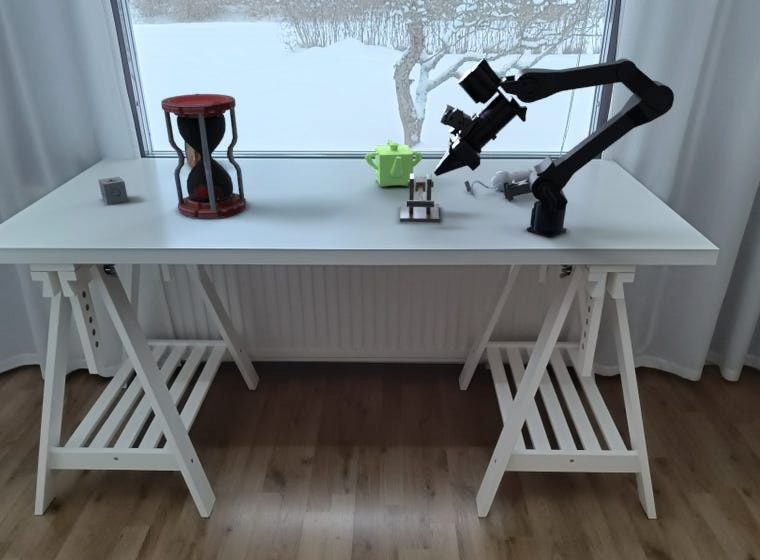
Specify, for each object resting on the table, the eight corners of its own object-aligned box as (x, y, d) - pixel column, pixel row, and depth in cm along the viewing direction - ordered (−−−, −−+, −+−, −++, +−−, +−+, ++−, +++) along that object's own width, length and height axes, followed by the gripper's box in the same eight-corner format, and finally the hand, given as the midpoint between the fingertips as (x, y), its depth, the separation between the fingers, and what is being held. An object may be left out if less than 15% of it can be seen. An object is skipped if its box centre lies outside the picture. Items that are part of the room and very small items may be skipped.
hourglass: (178, 221, 151) (160, 107, 138) (178, 201, 164) (161, 94, 152) (249, 215, 155) (237, 103, 142) (243, 196, 168) (232, 92, 155)
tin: (185, 161, 198) (181, 132, 194) (196, 160, 199) (192, 131, 195) (195, 173, 186) (191, 143, 182) (206, 172, 188) (202, 141, 183)
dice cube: (107, 204, 162) (103, 184, 159) (102, 199, 165) (98, 179, 163) (128, 201, 164) (124, 181, 162) (122, 196, 168) (118, 176, 165)
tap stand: (439, 223, 150) (441, 183, 145) (399, 223, 151) (400, 182, 146) (438, 208, 160) (439, 170, 155) (401, 208, 160) (401, 169, 155)
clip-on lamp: (466, 210, 168) (537, 198, 164) (462, 186, 164) (535, 173, 160) (467, 192, 177) (534, 180, 173) (463, 169, 174) (532, 157, 170)
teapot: (399, 195, 169) (399, 152, 164) (357, 186, 176) (356, 145, 170) (429, 181, 180) (430, 141, 175) (388, 173, 186) (388, 135, 181)
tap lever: (433, 210, 145) (434, 200, 143) (406, 210, 145) (406, 200, 143) (433, 186, 153) (433, 176, 151) (407, 185, 153) (407, 176, 152)
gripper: (462, 84, 140) (409, 137, 147) (467, 99, 125) (408, 157, 131) (495, 122, 144) (443, 172, 150) (505, 142, 128) (446, 197, 134)
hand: (435, 174), depth 141 cm, fingers closed
